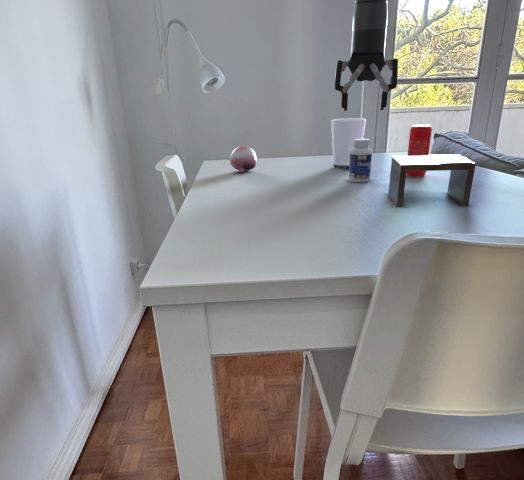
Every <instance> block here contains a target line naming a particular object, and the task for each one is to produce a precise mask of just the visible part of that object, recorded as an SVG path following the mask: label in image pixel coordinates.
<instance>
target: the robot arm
mask: <svg viewBox="0 0 524 480" xmlns="http://www.w3.org/2000/svg"><path fill="white" fill-rule="evenodd" d="M388 1H389V0H354V7H353V14H352V23H351V41H350V56H349V60H348V61H346V60H345V61H342V60H337V62H336V64H335V76H334V85H333V86H334V87H333V89H334V91H335V90H336V91H338V92H339V93H341V97H340V98H341V99H340V102H341V103H340V107H341V109H343V112H348V104H349V103H348V102H349V93H348V91H349V90H350V89H351V87H352V86H353V84H354V83H355V82H356V81H357V82H364V81H367V82H373V81H376V83H377V84H378V86H379V87H380V89H381V92H380V99H379V111H385V108H387V106H388V97H389V92H390V91H392V90H394V89H396V88H397V87H398V71H399V59H398V58H392V59H386V58H385V51H386V50H385V49H386V39H387V29H388V27H387V26H388V3H389V2H388ZM385 66H387V70H389V71H390V76H389V77H390V80H389V83H388V84H387V83H386V81H385V78H384V77H383V75H382V74H381V72H382V71H383V70H384V69H385ZM346 68H348V69H349V71H350V73H351V75H350V76H349V78H348V79H347V81H346V82H345V84H344V85H341V80H342V72H344V71H345V70H346Z"/></svg>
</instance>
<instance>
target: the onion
mask: <svg viewBox="0 0 524 480" xmlns="http://www.w3.org/2000/svg"><path fill="white" fill-rule="evenodd" d="M229 163H230V166H231V167H232V168H233V169H235V170H237V171H236V173H243V172H248V171H251V170H253V169H254V168H256V166H257V164H258V158H257V154H256V152H255V150H254V149H253V148H251V147H250V146H247V145H241V144H239V145H238V147H235V149H233V151H232V152H231V154H230V156H229Z"/></svg>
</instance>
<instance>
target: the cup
mask: <svg viewBox="0 0 524 480" xmlns="http://www.w3.org/2000/svg"><path fill="white" fill-rule="evenodd" d="M366 123H367V119H366V118H361V117H344V118H335V119H334V118H333V119H330V126H331V129H330V130H331V149H332V164H333V167H334V168H337V169H341V170H342V169H343V168H344V167H346V168H347V169H349V164H350V151H351V149H353V148H354V146H353V142H354V139H361V138H364V136H365V129H366Z"/></svg>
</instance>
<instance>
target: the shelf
mask: <svg viewBox="0 0 524 480" xmlns="http://www.w3.org/2000/svg"><path fill="white" fill-rule="evenodd" d="M476 165H477V163H476V162H474V161H472V160H470V159H468V158H467V157H465V156H462V155H461V154H429V155H421V156H407V155H392V156H391V164H390V174H389V185H388V196H389V197H390V199H391V200H392V202H393V203H394V205H395V206H396V207H397V208H399V207H401V208H403V206H404V198H405V191H406V188H405V187H406V181H407V174H406V172H407V171H426V172H431V171H434V172H435V171H436V172H437V171H450V174H449V179H448V186H447V191H446V192H447V195H448V196H450V197H451V198H452V199H453V200H455V201H456V202H457V203H458V204H459V205H461V206H462V207H468V206H469V204H470V198H471V193H472V187H473V182H474V176H475V170H476Z"/></svg>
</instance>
